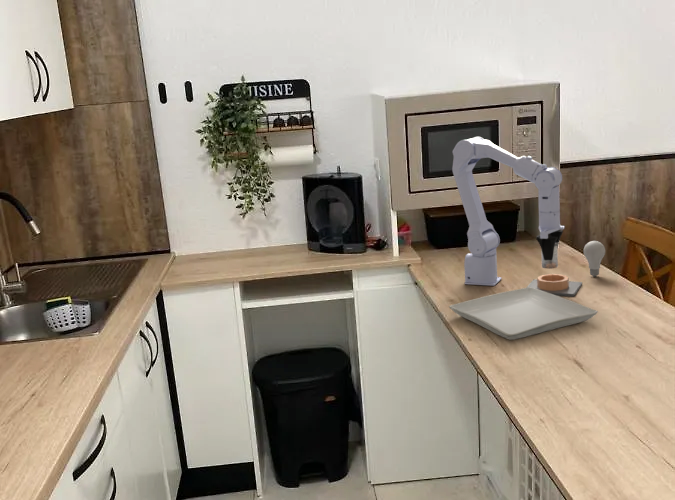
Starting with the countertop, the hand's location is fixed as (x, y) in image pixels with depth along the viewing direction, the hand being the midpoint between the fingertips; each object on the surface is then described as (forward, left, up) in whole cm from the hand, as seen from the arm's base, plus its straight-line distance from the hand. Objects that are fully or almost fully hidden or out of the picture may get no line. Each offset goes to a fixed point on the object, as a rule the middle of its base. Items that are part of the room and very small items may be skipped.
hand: (550, 257), depth 207 cm
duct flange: (0, 0, -9) cm, 10 cm away
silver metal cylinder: (0, 0, -3) cm, 3 cm away
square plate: (-2, -28, -10) cm, 29 cm away
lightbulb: (+9, +15, -10) cm, 21 cm away
